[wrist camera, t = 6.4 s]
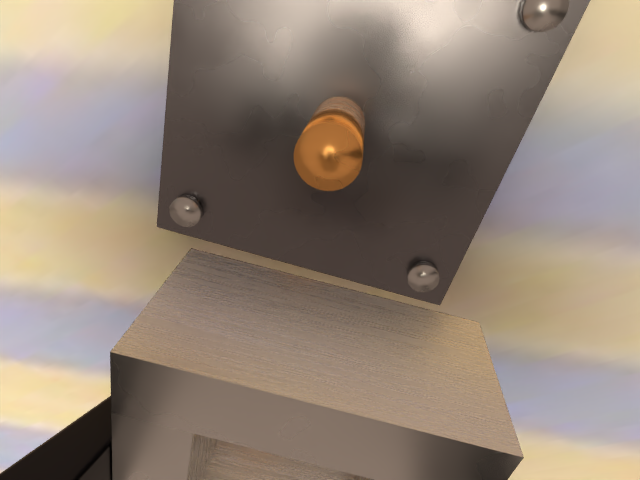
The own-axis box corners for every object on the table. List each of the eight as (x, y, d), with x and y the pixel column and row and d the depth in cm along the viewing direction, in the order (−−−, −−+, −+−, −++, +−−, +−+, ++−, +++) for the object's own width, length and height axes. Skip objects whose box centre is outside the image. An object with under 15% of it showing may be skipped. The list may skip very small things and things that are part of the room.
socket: (479, 322, 9) (523, 457, 6) (390, 490, 12) (393, 632, 9) (190, 248, 9) (110, 352, 6) (173, 435, 12) (113, 561, 9)
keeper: (587, -24, 13) (699, -44, 8) (436, 291, 19) (456, 378, 14) (198, -141, 13) (104, -222, 8) (167, 216, 18) (102, 281, 14)
